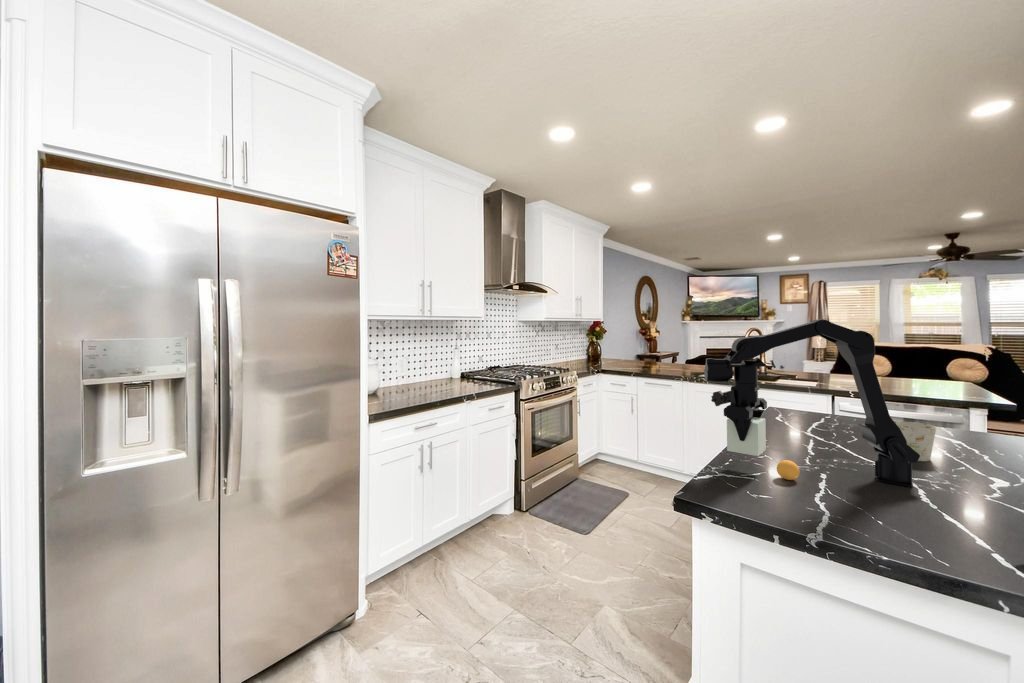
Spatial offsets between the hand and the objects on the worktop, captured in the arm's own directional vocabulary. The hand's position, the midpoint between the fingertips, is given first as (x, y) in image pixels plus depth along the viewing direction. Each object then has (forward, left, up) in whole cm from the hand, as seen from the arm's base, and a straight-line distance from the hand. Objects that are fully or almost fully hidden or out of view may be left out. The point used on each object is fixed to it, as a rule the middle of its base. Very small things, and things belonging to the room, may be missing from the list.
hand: (746, 437), depth 112 cm
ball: (-10, 0, -7) cm, 12 cm away
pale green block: (0, 0, -4) cm, 4 cm away
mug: (-32, -42, -10) cm, 53 cm away
